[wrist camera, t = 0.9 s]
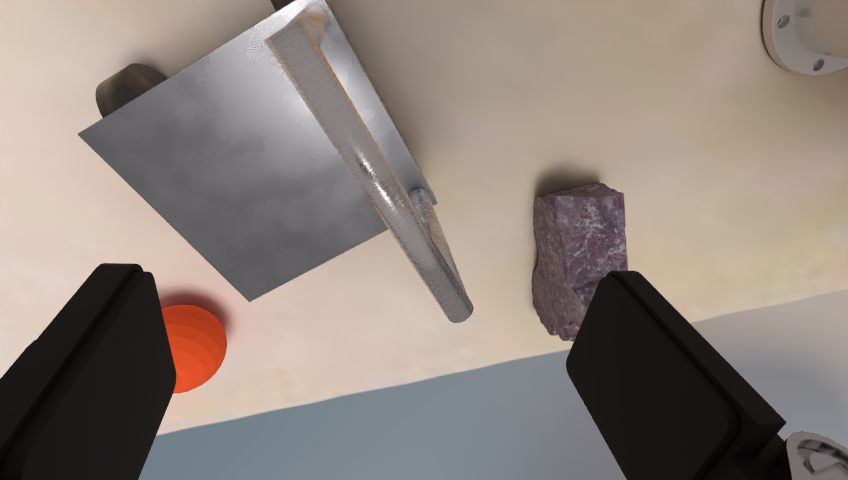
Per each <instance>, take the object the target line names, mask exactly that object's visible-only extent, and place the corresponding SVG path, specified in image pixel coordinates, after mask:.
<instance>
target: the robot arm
mask: <svg viewBox="0 0 848 480" xmlns="http://www.w3.org/2000/svg"><path fill="white" fill-rule="evenodd" d="M763 35H764V41H765V45H766V48H767V50H768V52H769V54H770V56H771V57H772V59H773V60H774V61H775V62H776V63H777V64H778V65H779V66H781V67H782V68H784V69H786V70H787V71H791V72H795V73H798V74H802V75H809V76H818V75H825V74H831V73H834V72H837V71H840V70H843V69H845V68H847V67H848V0H766V1H765V6H764V11H763ZM566 368H567V372H568V375H569V377H570V379H571V380H572V382H573V384H574V386H575V388H576V389H577V391H578V393H579V395H580V397H581V398H582V400H583V402H584V404H585V405H586V407H587V409H588V411H589V412H590V414H591V416H592V418H593V420H594V422H595V423H596V425H597V427H598V429H599V431H600V432H601V434H602V436H603V438H604V440H605V441H606V443H607V445H608V447H609V449H610V450H611V452H612V454H613V455H614V457H615V459H616V461H617V463H618V465H619V466H620V468H621V470H622V472H623V474H624V475H625V477H626V479H627V480H848V449H847V448H846V447H844V446H842V445H840V444H838V443H837V442H835V441H833V440H831V439H829V438H826V437H823V436H820V435H818V434H815V433H809V432H803V431H801V432H796V433H792V434H791V435H790V436H789V437H788V438H787V439H786V440H785V441H783V439H781V437H780V436H779V435H778V434H777V433H778V432H779V430H780V429H781V428H782V427H783V426H784V425H785V424H786V421H785V420H784V419H783V418H782V417H781V416H780V415H779V414H778V413H777V412H776V411H775V410H774V409H773V408H772V407H771V406H770V405H769V404H768V403H767V402H766V401H765V400H764V399H763V398H762V397H761V396H760V395H759V394H758V393H757V392H756V391H755V390H754V389H753V388H752V387H751V386H750V385H749V383H748V382H746V380H745V379H744V378H743V377H742V376H740V374H739V373H738V372H737V371H736V370H735V369H734V368H733V367H732V366H731V365H730V364H729V363H728V362H727V361H726V360H725V359H724V358H723V357H722V356H721V355H720V354H719V353H718V352H717V351H716V350H715V349H714V348H713V347H712V346H711V345H710V344H709V343H708V342H707V341H706V340H705V339H704V338H703V337H702V336H701V335H700V334H699V333H698V332H697V331H696V330H695V329H694V328H693V327H692V325H691V324H690V323H689V322H688V321H687V320H686V319H685V318H684V317H683V316H682V315H681V314H680V313H679V312H678V311H677V310H676V309H675V308H674V307H673V306H672V305H671V304H670V303H669V302H668V301H667V300H666V299H665V298H664V297H663V296H662V295H661V294H660V293H659V292H658V291H657V290H656V289H655V288H654V287H653V286H652V285H651V284H650V283H649V282H648V281H647V280H646V279H645V278H644V277H643V276H642V275H641V274H640V273H639V272H636V271H610V272H609V273H608V274H607V275H606V276H605V277H603V278H602V279H601V280H600V281H599V283H598V286H597V288H596V290H595V293H594V295H593V298H592V300H591V302H590V305H589V307H588V310H587V312H586V314H585V317H584V319H583V322H582V324H581V326H580V329H579V331H578V334H577V336H576V338H575V341H574V343H573V346H572V348H571V350H570V353H569V355H568V358H567V361H566ZM175 385H176V369H175V364H174V360H173V356H172V352H171V348H170V343H169V339H168V335H167V331H166V327H165V322H164V318H163V314H162V310H161V306H160V301H159V297H158V293H157V289H156V285H155V280H154V277H153V275H152V273H151V272H143V269H142V267H141V266H140V265H138V264H110V263H104V264H100V265H99V266H98V267H97V268H96V269H95V270H94V271H93V272H92V274H91V275H90V276H89V277H88V278H87V280H86V281H85V282H84V283H83V284H82V286H81V287H80V288H79V289H78V290H77V292H76V293H75V294H74V295H73V296H72V298H71V299H70V300H69V301H68V302H67V304H66V305H65V306H64V307H63V308H62V310H61V311H60V312H59V313H58V315H57V316H56V317H55V318H54V319H53V321H52V322H51V323H50V324H49V325H48V327H47V328H46V329H45V330H44V331H43V333H42V334H41V335H40V336H39V337H38V339H37V340H35V341H34V342H32V343H31V344H30V345H29V346H28V347H27V348H26V349H25V350H24V352H23V353H22V354H21V355H20V356H19V358H18V359H17V360H16V361H15V362H14V363H13V365H12V366H11V367H10V368H9V369H8V371H7V372H6V373H5V374H4V375H3V377H2V378H1V379H0V480H138V478H139V476H140V473H141V471H142V469H143V466H144V464H145V461H146V459H147V456H148V454H149V451H150V449H151V446H152V444H153V441H154V439H155V436H156V434H157V431H158V429H159V426H160V424H161V421H162V419H163V416H164V414H165V412H166V409H167V407H168V404H169V402H170V399H171V397H172V394H173V392H174V389H175Z"/></svg>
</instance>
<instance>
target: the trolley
mask: <svg viewBox="0 0 848 480" xmlns="http://www.w3.org/2000/svg"><path fill="white" fill-rule="evenodd" d="M271 1H272V3H273V5H274V7H275V9H276V11H277V12H276V13H274V14H273V15H271V16H269V17H268V18H266V19H264V20H263V21H261V22H260V23H258V24H256V25H255V26H253V27H251V28H250V29H248V30H246V31H245V32H243V33H242V34H240V35H238V36H237V37H235V38H233V39H232V40H230V41H229V42H227V43H225V44H224V45H222V46H220V47H219V48H217V49H215V50H214V51H212V52H211V53H209V54H207V55H206V56H204V57H202V58H201V59H199V60H198V61H196V62H194V63H193V64H191V65H189V66H188V67H186V68H185V69H183V70H181V71H180V72H178V73H176V74H175V75H173V76H171V77H170V78H168V79H166V78H165V77H163V76H162V75H161V74H159V73H158V72H156V71H155V70H153V69H151V68H149V67H147V66H145V65H142V64H130V65H129V66H127V67H126V68H124V69H122V70H121V71H119V72H118V73H116V74H114V75H113V76H111V77H110V78H108V79H106V80H105V81H103V82H102V83H100V84H99V85H98V87H97V89H96V101H97V105H98V108H99V111H100V113H101V115H102V117H103V119H101V120H100V121H98V122H96V123H95V124H93V125H92V126H90V127H88V128H87V129H85V130H83V131H82V132H80V133H79V134H78V135H79V136H80V137H81V138H82V139H83V140H84V141H85V142H86V143H87V144H88V145H89V146H90V147H91V148H92V149H93V150H94V151H95V152H96V153H97V154H98V155H99V156H100V157H101V158H102V159H103V160H104V161H105V162H106V163H107V164H108V165H110V166H111V167H112V168H113V169H114V170H115V171H116V172H117V173H118V174H119V175H120V176H121V177H122V178H123V179H124V180H125V181H126V182H127V183H128V184H129V185H130V186H131V187H132V188H133V189H134V190H135V191H136V192H137V193H138V194H139V195H140V196H141V197H142V198H143V199H144V200H145V201H146V202H147V203H148V204H149V205H150V206H151V207H153V208H154V209H155V210H156V211H157V212H158V213H159V214H160V215H161V216H162V217H163V218H164V219H165V220H166V221H167V222H168V223H169V224H170V225H171V226H172V227H173V228H174V229H175V230H176V231H177V232H178V233H179V234H180V235H181V236H182V237H183V238H184V239H185V240H186V241H187V242H188V243H189V244H190V245H191V246H192V247H193V248H195V249H196V250H197V251H198V252H199V253H200V254H201V255H202V256H203V257H204V258H205V259H206V260H207V261H208V262H209V263H210V264H211V265H212V266H213V267H214V268H215V269H216V270H217V271H218V272H219V273H220V274H221V275H222V276H223V277H224V278H225V279H226V280H227V281H228V282H229V283H230V284H231V285H232V286H233V287H234V288H235V289H236V290H238V291H239V292H240V293H241V294H242V295H243V296H244V297H245V298H246V299H247V300H248V301H249V302H250V301H252V300H254V299H256V298H258V297H260V296H262V295H264V294H266V293H268V292H269V291H271V290H273V289H275V288H277V287H279V286H281V285H283V284H285V283H287V282H288V281H290V280H292V279H294V278H296V277H298V276H300V275H302V274H304V273H306V272H308V271H309V270H311V269H313V268H315V267H317V266H319V265H321V264H323V263H325V262H327V261H329V260H330V259H332V258H334V257H336V256H338V255H340V254H342V253H344V252H346V251H348V250H350V249H351V248H353V247H355V246H357V245H359V244H361V243H363V242H365V241H367V240H369V239H370V238H372V237H374V236H376V235H378V234H380V233H382V232H384V231H386V230H388V229H389V230H390V232H391V233H392V235H393V236H394V238H395V239H396V241H397V242H398V244H399V245H400V247H401V248H402V250H403V251H404V253H405V254H406V256H407V257H408V259H409V260H410V262H411V263H412V265H413V266H414V268H415V269H416V271H417V273H418V274H419V276H420V277H421V279H422V280H423V282H424V283H425V285H426V286H427V288H428V289H429V291H430V292H431V294H432V295H433V297H434V298H435V300H436V301H437V303H438V304H439V306H440V307H441V309H442V310H443V312H444V313H445V315H446V316H447V318H448V319H449V321H451V322H453V323H460V322H463V321H465V320H466V319H468V318H469V317H470V316H471V314H472V312H473V304H472V303H471V301H470V299H469V298H468V296H467V293H466V291H465V288H464V286H463V283H462V280H461V278H460V275H459V273H458V270H457V267H456V265H455V262H454V260H453V257H452V254H451V252H450V249H449V247H448V244H447V241H446V239H445V236H444V234H443V231H442V228H441V226H440V223H439V221H438V218H437V216H436V213H435V210H434V208H433V205H435V204H437V201H436V199H435V196H434V194H433V192H432V190H431V188H430V186H429V185H428V183H427V181H426V179H425V177H424V176H423V174H422V172H421V170H420V168H419V167H418V165H417V163H416V161H415V159H414V158H413V156H412V154H411V152H410V150H409V148H408V147H407V145H406V143H405V141H404V139H403V138H402V136H401V134H400V132H399V130H398V129H397V127H396V125H395V123H394V121H393V120H392V118H391V116H390V114H389V112H388V110H387V109H386V107H385V105H384V103H383V101H382V100H381V98H380V96H379V94H378V92H377V91H376V89H375V87H374V85H373V83H372V82H371V80H370V78H369V76H368V74H367V72H366V71H365V69H364V67H363V65H362V63H361V62H360V60H359V58H358V56H357V54H356V53H355V51H354V49H353V47H352V45H351V44H350V42H349V40H348V38H347V36H346V35H345V33H344V31H343V29H342V27H341V25H340V24H339V22H338V20H337V18H336V16H335V15H334V13H333V11H332V9H331V7H330V6H329V4H328V2H327V0H271Z"/></svg>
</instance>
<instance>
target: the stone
mask: <svg viewBox="0 0 848 480" xmlns="http://www.w3.org/2000/svg"><path fill="white" fill-rule="evenodd" d="M533 219H534V221H533V225H534V233H535V239H536V243H537V245H538V265H537V268H536V270H535V272H534V275H533V279H532V287H533V288H532V290H533V295H534V297H533V304H534V308H535V309H536V312H537V315H538V316H539V318H540V321H541V323H542V324H543V325H544V326H545V328H546V329H547V331H548V333H549V334H550V335H552V336H554V335H559V337H560V338H561V339H562V340H563V341H575V338H576V336H577V334H578V331H579V329H580V326H581V324H582V322H583V319H584V317H585V314H586V312H587V310H588V307H589V305H590V302H591V300H592V298H593V295H594V293H595V290H596V288H597V286H598V283H599V281H600V280H601V279H602V278H603V277H605V276H606V275H607V274H608V273H609V272H610V271H628V264H627V249H626V236H625V207H624V194H623V193H621V192H617V191H616V190H614V189H610V188H609V187H607V186H606V185H605V184H603V183H598V182H595V183H591V184H588V185H585V186H579V187H576V188H574V189H564V190H560V191H558V192H554V193H549V194H547V195H546V196H542V197H538V198H536V199H535V204H534V216H533Z"/></svg>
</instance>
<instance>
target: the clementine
mask: <svg viewBox="0 0 848 480" xmlns="http://www.w3.org/2000/svg"><path fill="white" fill-rule="evenodd" d="M161 310H162V314H163V318H164V322H165V327H166V331H167V335H168V339H169V343H170V348H171V352H172V356H173V360H174V364H175V369H176V385H175V389H174V392H173V393H182V392H187V391H189V390H192V389H194V388H196V387H198V386H200V385H202V384H204V383H205V382H206V381H208V380H209V379H210V378H211V377H212V376H213V375H214V374H215V373H216V372H217V370H218V369H219V368H220V366H221V364H222V362H223V360H224V357H225V354H226V348H227V339H226V334H225V331H224V328H223V326H222V324H221V322H220V321H219V320H218V319H217V318H216V317H215V316H214V315H213V314H212V313H210V312H209V311H207V310H205V309H203V308H201V307H198V306H193V305H174V306H169V307H165V308H163V309H161Z"/></svg>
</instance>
